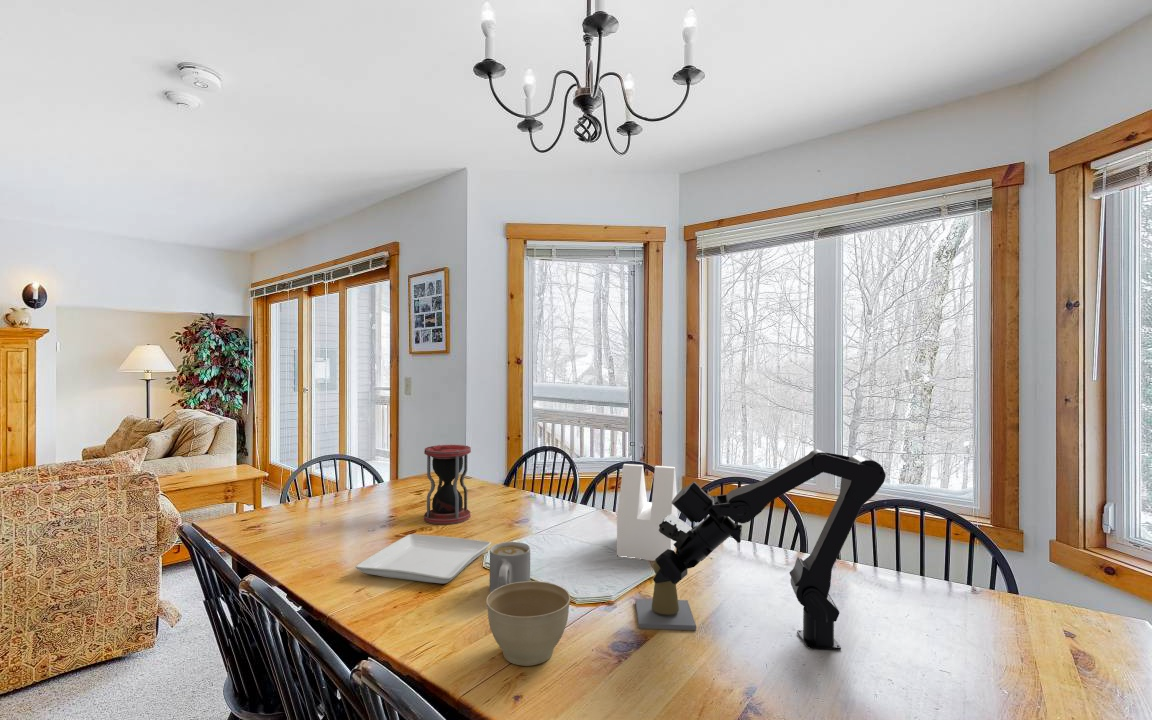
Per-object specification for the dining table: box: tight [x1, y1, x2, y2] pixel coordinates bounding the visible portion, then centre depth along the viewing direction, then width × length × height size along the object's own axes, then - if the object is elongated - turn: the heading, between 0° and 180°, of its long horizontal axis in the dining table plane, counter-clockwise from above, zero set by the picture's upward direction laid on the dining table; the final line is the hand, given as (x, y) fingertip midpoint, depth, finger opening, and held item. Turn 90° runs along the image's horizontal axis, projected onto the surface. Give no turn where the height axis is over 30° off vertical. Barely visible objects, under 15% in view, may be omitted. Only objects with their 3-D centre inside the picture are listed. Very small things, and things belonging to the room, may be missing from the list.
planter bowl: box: [485, 580, 571, 667], centre depth 104 cm, size 16×16×11 cm
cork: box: [652, 559, 679, 615], centre depth 120 cm, size 6×6×11 cm
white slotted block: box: [616, 463, 678, 562], centre depth 163 cm, size 19×15×25 cm
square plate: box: [354, 533, 492, 585], centre depth 149 cm, size 27×27×4 cm
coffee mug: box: [489, 541, 531, 594], centre depth 132 cm, size 13×10×10 cm
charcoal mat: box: [635, 598, 697, 631], centre depth 120 cm, size 12×12×1 cm
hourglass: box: [423, 444, 472, 525], centre depth 192 cm, size 16×16×25 cm
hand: (659, 577), depth 121 cm, fingers closed on cork, 5 cm apart
